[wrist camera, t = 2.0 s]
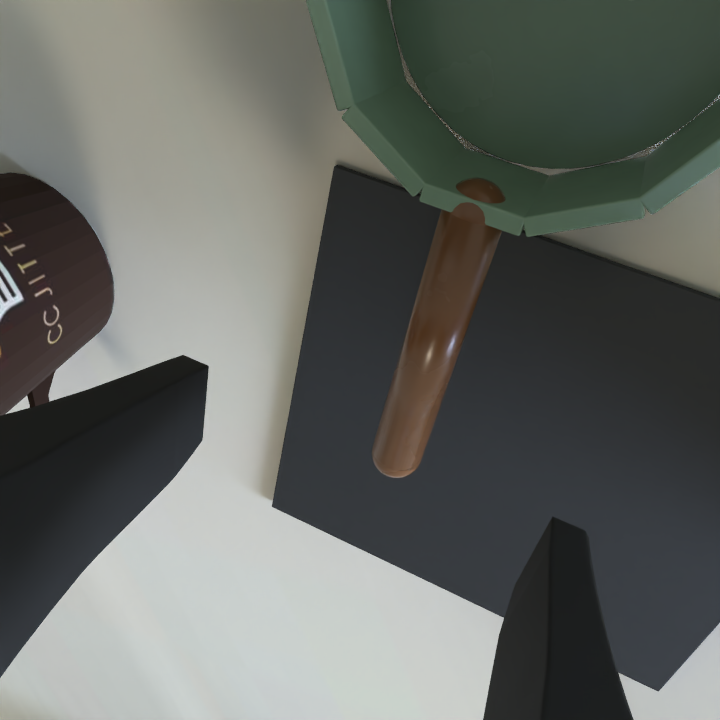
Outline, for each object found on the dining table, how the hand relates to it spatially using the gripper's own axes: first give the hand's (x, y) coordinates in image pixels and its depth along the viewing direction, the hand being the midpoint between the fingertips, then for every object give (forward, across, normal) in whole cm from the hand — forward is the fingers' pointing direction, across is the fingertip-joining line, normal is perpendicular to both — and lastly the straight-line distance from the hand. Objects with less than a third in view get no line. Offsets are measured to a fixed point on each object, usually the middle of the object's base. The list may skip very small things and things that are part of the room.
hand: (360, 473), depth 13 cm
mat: (+7, -3, +4) cm, 9 cm away
